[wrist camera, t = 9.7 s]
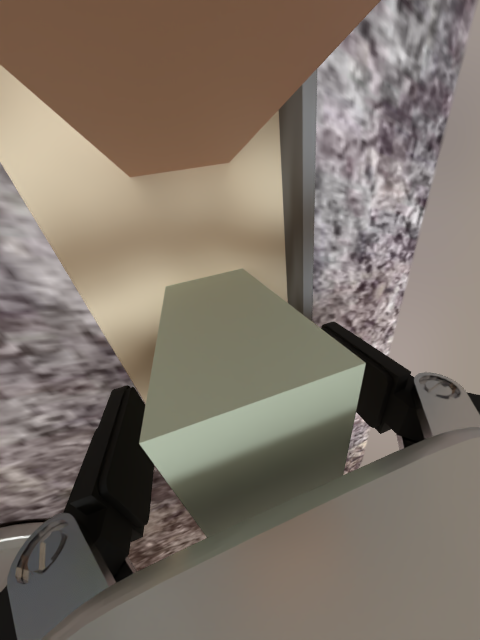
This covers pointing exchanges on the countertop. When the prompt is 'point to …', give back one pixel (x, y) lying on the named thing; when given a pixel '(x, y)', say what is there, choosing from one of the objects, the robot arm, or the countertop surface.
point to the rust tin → (170, 69)
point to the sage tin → (245, 400)
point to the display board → (165, 216)
